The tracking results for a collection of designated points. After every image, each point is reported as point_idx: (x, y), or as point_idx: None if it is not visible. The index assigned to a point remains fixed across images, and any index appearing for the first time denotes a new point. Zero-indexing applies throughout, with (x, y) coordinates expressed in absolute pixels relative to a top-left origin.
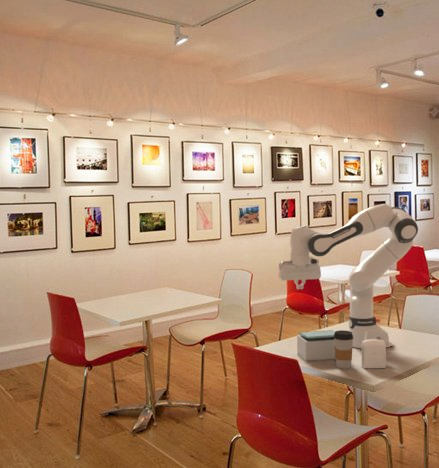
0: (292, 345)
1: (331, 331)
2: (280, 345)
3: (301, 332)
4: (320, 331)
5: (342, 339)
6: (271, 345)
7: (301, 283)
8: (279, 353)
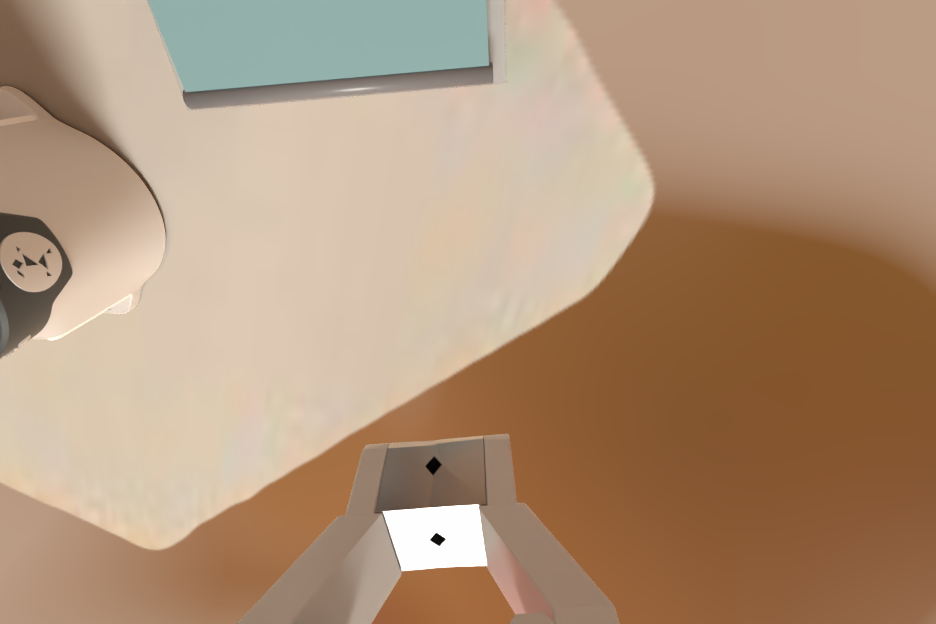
0: (478, 259)
1: (190, 39)
2: (542, 269)
3: (473, 69)
4: (295, 75)
5: None
6: (589, 276)
7: (378, 606)
8: (601, 109)
